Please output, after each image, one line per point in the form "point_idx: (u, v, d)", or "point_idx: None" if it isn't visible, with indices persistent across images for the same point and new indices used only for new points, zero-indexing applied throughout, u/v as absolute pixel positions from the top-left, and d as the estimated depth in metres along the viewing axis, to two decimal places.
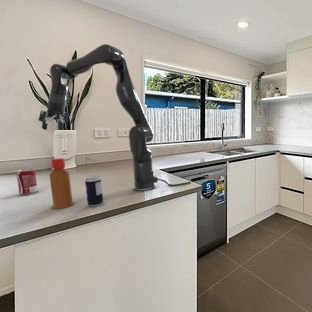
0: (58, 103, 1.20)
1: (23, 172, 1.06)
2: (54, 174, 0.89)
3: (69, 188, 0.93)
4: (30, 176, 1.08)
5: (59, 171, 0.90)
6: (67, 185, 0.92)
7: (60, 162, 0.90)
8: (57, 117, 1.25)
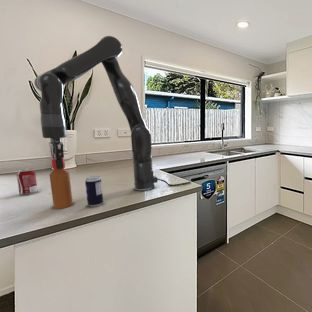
0: (64, 126, 0.90)
1: (23, 172, 1.06)
2: (54, 174, 0.89)
3: (69, 188, 0.93)
4: (30, 176, 1.08)
5: (59, 171, 0.90)
6: (67, 185, 0.92)
7: None
8: None
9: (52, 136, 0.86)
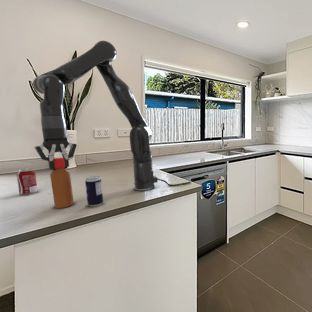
0: None
1: (23, 172, 1.06)
2: (55, 173, 0.89)
3: (70, 187, 0.93)
4: (30, 176, 1.08)
5: (60, 170, 0.90)
6: (68, 184, 0.92)
7: None
8: None
9: (66, 137, 0.91)
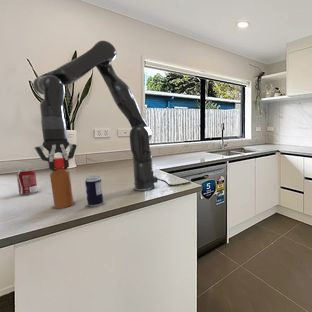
0: None
1: (23, 172, 1.06)
2: (55, 174, 0.89)
3: (70, 188, 0.93)
4: (30, 176, 1.08)
5: (59, 171, 0.90)
6: (68, 184, 0.92)
7: None
8: None
9: (66, 137, 0.92)
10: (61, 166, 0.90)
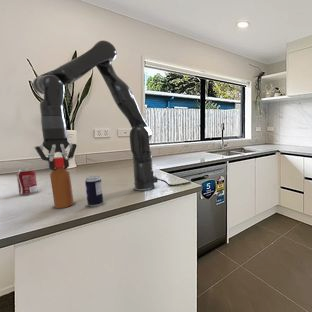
0: None
1: (23, 172, 1.06)
2: (55, 173, 0.89)
3: (70, 187, 0.93)
4: (30, 176, 1.08)
5: (60, 170, 0.90)
6: (69, 184, 0.92)
7: None
8: None
9: (66, 137, 0.91)
10: None
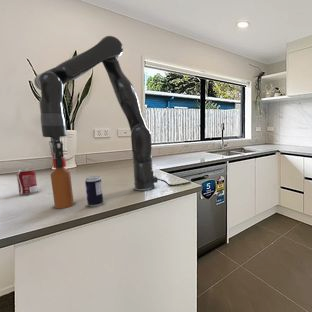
0: (64, 125, 0.90)
1: (23, 172, 1.06)
2: (56, 174, 0.89)
3: (70, 188, 0.93)
4: (30, 176, 1.08)
5: (61, 171, 0.90)
6: (69, 184, 0.92)
7: (63, 161, 0.91)
8: None
9: (52, 135, 0.86)
10: None
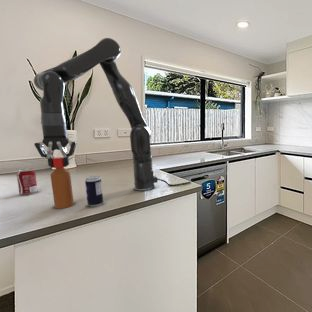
0: None
1: (23, 172, 1.06)
2: (56, 174, 0.89)
3: (70, 188, 0.93)
4: (30, 176, 1.08)
5: (61, 171, 0.90)
6: (69, 184, 0.92)
7: None
8: None
9: (64, 134, 0.89)
10: (53, 166, 0.90)
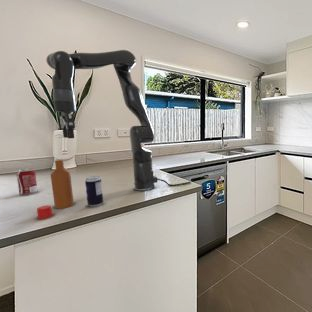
0: None
1: (23, 172, 1.06)
2: (56, 174, 0.89)
3: (70, 188, 0.93)
4: (30, 176, 1.08)
5: (61, 171, 0.90)
6: (69, 184, 0.92)
7: None
8: None
9: None
10: (49, 216, 0.82)
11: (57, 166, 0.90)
